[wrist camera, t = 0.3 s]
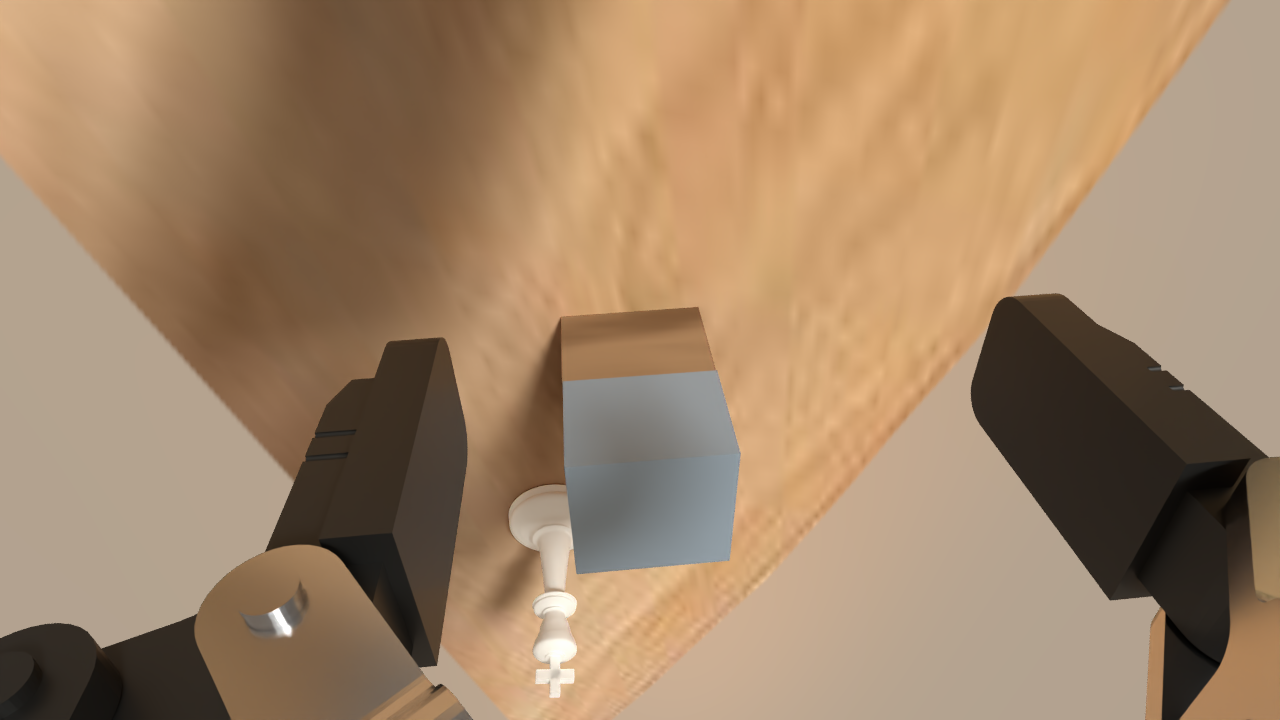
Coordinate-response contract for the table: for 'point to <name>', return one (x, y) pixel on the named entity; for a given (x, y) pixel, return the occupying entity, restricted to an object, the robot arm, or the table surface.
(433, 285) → the table surface
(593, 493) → the slate-blue block
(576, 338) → the walnut block
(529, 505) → the chess piece
